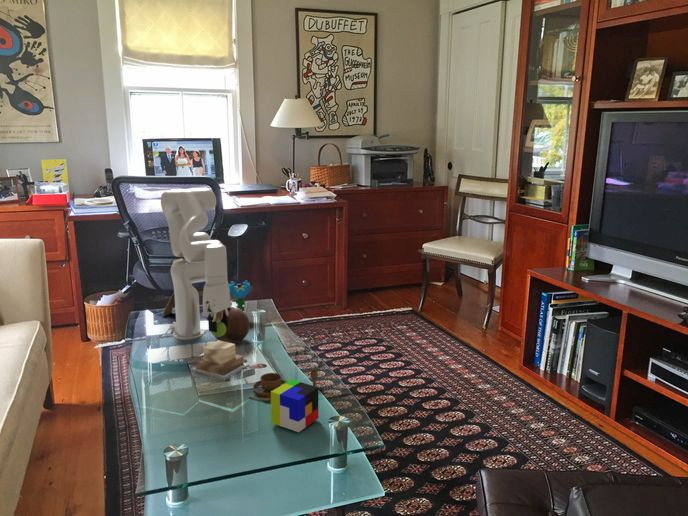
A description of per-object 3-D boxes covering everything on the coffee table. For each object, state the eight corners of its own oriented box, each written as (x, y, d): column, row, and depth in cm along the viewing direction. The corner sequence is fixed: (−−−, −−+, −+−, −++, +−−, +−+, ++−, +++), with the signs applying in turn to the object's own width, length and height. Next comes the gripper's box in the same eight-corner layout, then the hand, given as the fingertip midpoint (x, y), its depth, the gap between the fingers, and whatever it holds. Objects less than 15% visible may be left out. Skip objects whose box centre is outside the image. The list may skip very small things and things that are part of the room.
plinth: (195, 369, 207) (194, 348, 205) (217, 357, 217) (216, 337, 215) (222, 376, 201) (221, 354, 200) (243, 363, 212) (243, 343, 210)
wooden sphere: (253, 337, 241) (253, 302, 238) (244, 350, 226) (243, 314, 223) (218, 335, 242) (217, 301, 239) (206, 349, 228) (205, 312, 224)
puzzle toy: (298, 432, 166) (298, 400, 164) (271, 422, 172) (270, 391, 169) (318, 418, 175) (318, 387, 173) (291, 409, 180) (291, 379, 178)
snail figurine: (230, 333, 209) (229, 301, 206) (221, 340, 203) (219, 307, 200) (217, 331, 211) (215, 300, 208) (208, 338, 205) (206, 305, 202)
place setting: (266, 377, 204) (266, 361, 203) (320, 385, 198) (320, 369, 197) (243, 398, 188) (242, 382, 186) (300, 408, 182) (300, 390, 180)
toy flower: (251, 323, 257) (250, 284, 253) (231, 325, 255) (229, 285, 251) (250, 317, 266) (248, 279, 262) (230, 318, 264) (228, 280, 260)
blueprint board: (189, 371, 207) (189, 368, 207) (215, 357, 219) (215, 355, 219) (225, 380, 200) (225, 377, 200) (249, 366, 212) (249, 363, 212)
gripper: (223, 273, 211) (225, 320, 215) (191, 283, 196) (193, 334, 200) (240, 275, 208) (241, 323, 212) (208, 286, 193) (210, 338, 197)
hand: (218, 328), depth 206 cm, fingers closed on snail figurine, 5 cm apart
